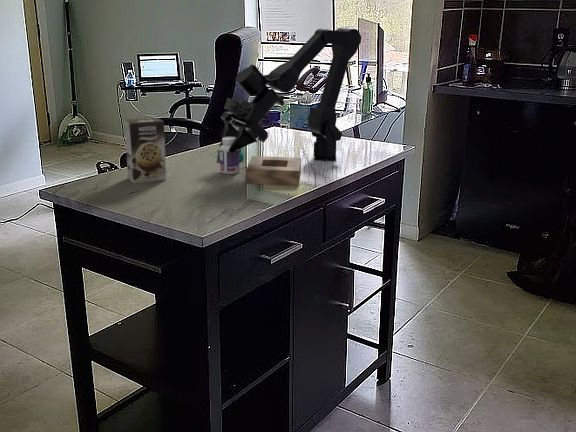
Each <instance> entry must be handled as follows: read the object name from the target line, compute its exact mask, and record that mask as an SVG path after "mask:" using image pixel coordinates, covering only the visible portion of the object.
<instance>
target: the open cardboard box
mask: <svg viewBox="0 0 576 432" xmlns="http://www.w3.org/2000/svg"><path fill="white" fill-rule="evenodd" d="M245 171H246V173H245V174H246V175H245V176H246V181H245V182H246V184H249V185H253V184H254V185H274V186H275V185H276V186H280V185H281V186H300V182H301V174H302V157H291V156H289V157H288V156H286V157H285V156H265V155H264V156H261V155H260V156H259V155H252V156H251V158H250V161H249V163H248V164H247V167H246V170H245Z"/></svg>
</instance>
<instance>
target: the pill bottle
mask: <svg viewBox="0 0 576 432" xmlns="http://www.w3.org/2000/svg"><path fill="white" fill-rule="evenodd" d="M235 139H236V137H223V136H222V138H221V140H222V143H223V145H222V146H221V147H220V146H219V153H220V161H219V167H220V168H219V169H220V173H222V174H225V175H226V174H227V175H229V174H230V175H234V174H238V173H239V172H240V161H239V149H238V150H236V151H234V152H232V153H230V152H229V148H230V147H231V145H232V144H233V142H234V141H235Z"/></svg>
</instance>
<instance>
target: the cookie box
mask: <svg viewBox="0 0 576 432" xmlns="http://www.w3.org/2000/svg"><path fill="white" fill-rule="evenodd" d="M124 126H125V127H124V130H125V131H124V132H125V147H126V148H125V150H126V167H127V168H126V170H127V172H126V173H127V178H128V179H129V181H130V182H131V183H132V184H141V183H142V184H143V183H150V182H151V183H152V182H161V181H166V180H167V172H166V171H167V170H166V169H167V167H166V145H165V144H166V141H165V140H166V139H165V121H164V120H162V119H160V118H158V117H149V118H148V117H147V118H145V117H144V118H130V119H124Z"/></svg>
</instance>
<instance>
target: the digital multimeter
mask: <svg viewBox="0 0 576 432" xmlns="http://www.w3.org/2000/svg"><path fill="white" fill-rule="evenodd" d="M243 151H244V147H243V148H241V149H239V162H243V161H244V152H243ZM218 161H219V162H220V152H219V153H218Z"/></svg>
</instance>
